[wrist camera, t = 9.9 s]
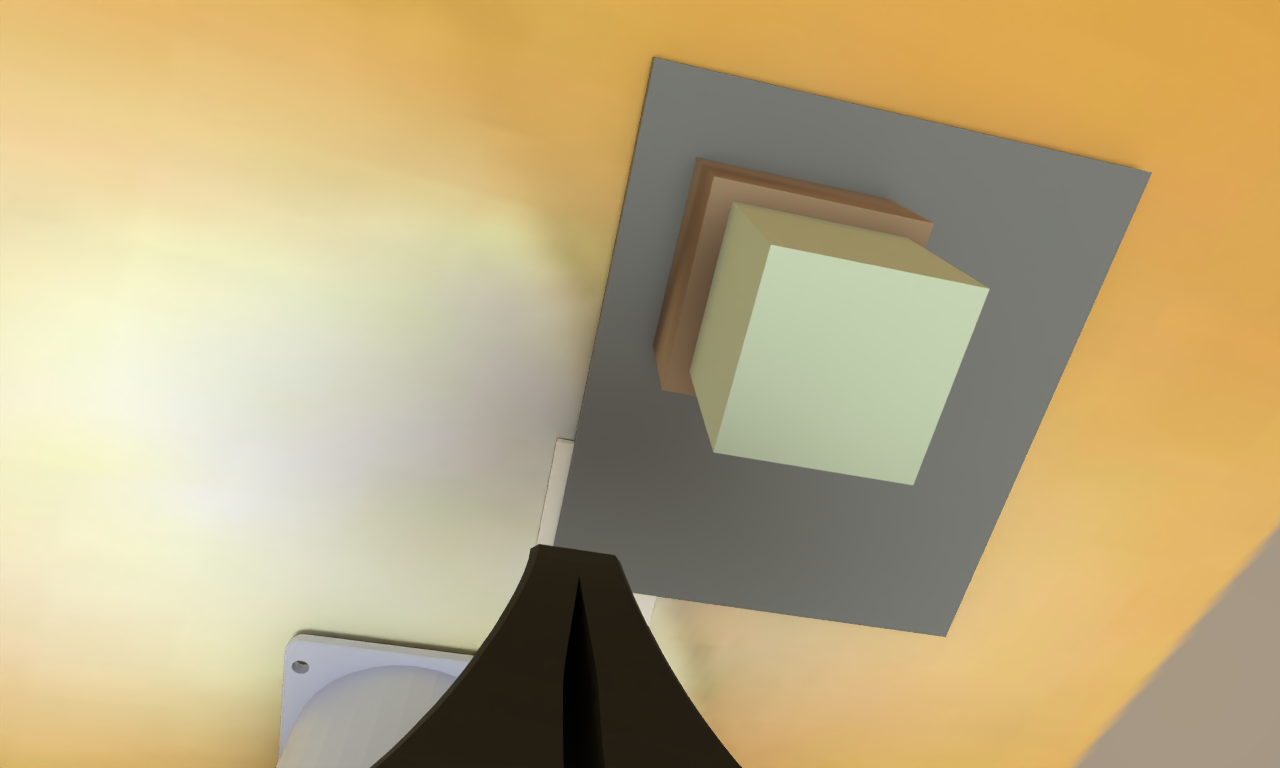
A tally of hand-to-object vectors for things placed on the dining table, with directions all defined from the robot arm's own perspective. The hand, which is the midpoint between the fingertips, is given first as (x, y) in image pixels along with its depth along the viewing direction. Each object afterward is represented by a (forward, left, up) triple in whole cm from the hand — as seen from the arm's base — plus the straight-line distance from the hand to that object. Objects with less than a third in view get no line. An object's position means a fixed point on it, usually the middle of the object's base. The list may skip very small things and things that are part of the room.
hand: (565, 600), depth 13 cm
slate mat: (+1, -7, -10) cm, 12 cm away
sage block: (+4, -4, -7) cm, 9 cm away
